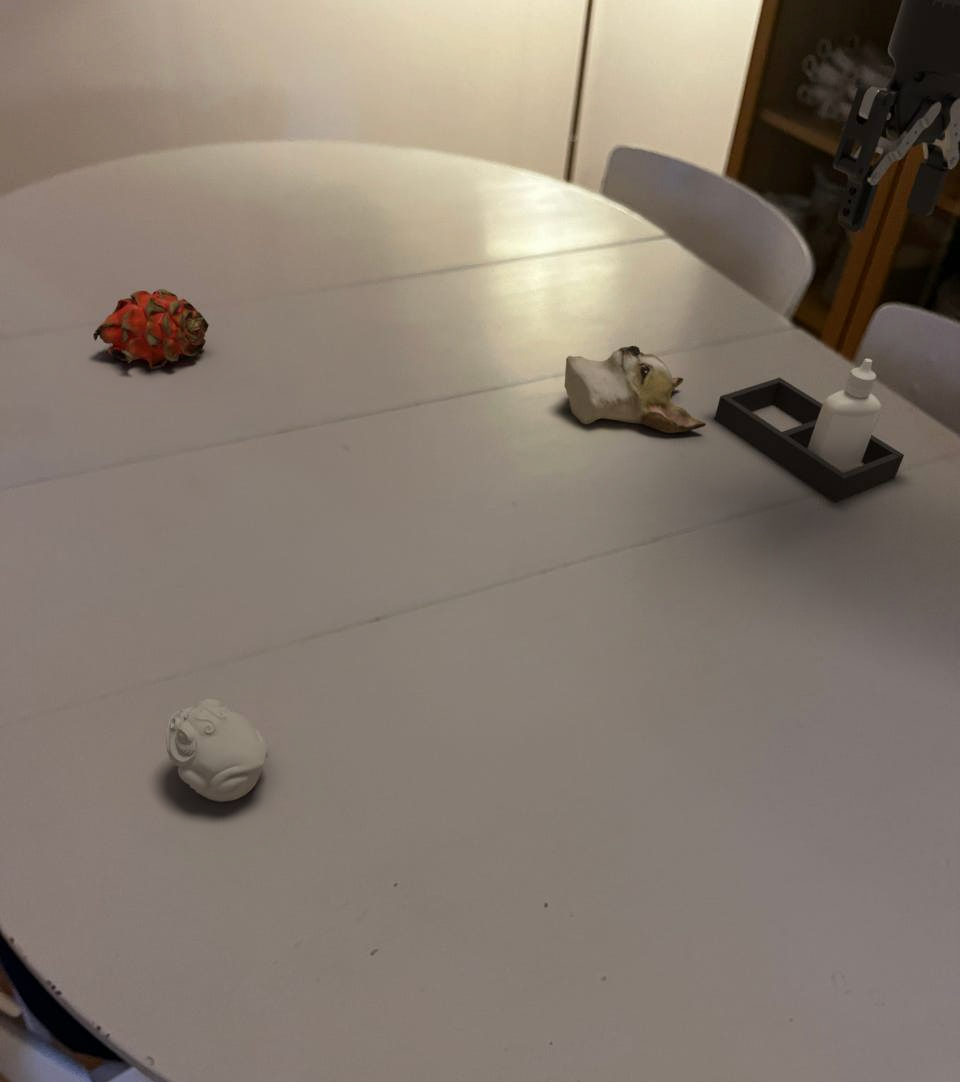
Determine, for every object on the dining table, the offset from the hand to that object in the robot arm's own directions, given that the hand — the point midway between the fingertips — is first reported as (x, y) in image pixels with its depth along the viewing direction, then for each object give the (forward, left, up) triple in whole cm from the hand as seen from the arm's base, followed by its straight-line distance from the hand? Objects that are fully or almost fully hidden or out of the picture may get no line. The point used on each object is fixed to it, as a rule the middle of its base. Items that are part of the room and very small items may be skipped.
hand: (884, 220), depth 85 cm
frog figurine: (+62, +5, -28) cm, 68 cm away
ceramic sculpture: (+4, -20, -28) cm, 35 cm away
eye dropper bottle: (-8, -2, -28) cm, 29 cm away
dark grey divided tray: (-8, -6, -28) cm, 30 cm away
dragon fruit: (+44, -53, -28) cm, 74 cm away
